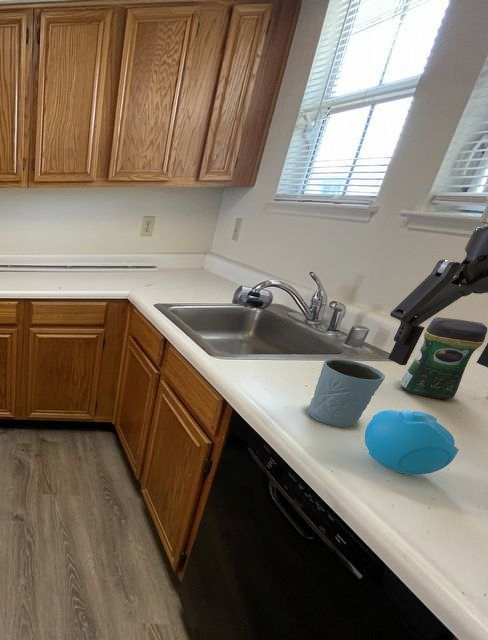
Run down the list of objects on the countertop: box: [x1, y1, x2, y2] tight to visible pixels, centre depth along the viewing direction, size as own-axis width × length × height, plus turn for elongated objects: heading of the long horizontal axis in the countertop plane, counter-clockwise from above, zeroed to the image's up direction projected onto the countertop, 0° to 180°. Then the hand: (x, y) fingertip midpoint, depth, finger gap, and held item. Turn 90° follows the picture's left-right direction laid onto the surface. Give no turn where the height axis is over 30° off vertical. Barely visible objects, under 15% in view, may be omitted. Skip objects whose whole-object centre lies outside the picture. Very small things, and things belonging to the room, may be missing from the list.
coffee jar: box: [400, 316, 488, 400], centre depth 99 cm, size 10×8×19 cm
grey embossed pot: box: [307, 358, 386, 428], centre depth 89 cm, size 10×10×12 cm
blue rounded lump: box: [364, 409, 460, 475], centre depth 74 cm, size 12×11×12 cm
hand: (441, 364), depth 68 cm, fingers open, 13 cm apart
